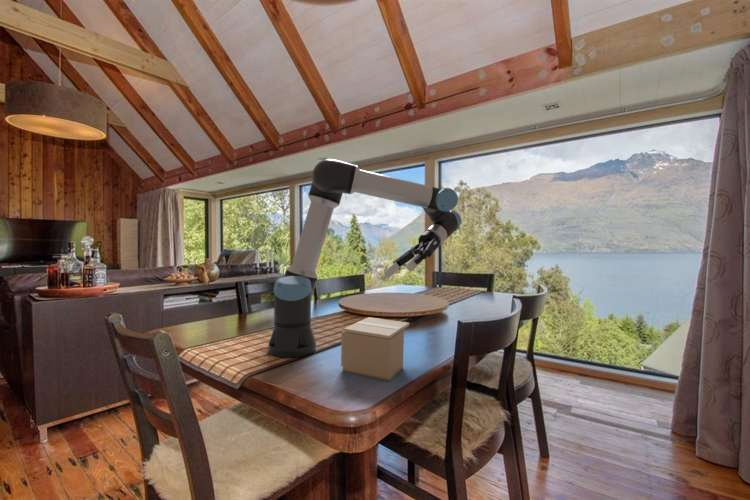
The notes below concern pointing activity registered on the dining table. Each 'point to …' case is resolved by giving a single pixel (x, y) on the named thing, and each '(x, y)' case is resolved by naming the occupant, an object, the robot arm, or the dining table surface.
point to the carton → (372, 355)
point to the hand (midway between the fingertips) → (396, 272)
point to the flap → (377, 327)
